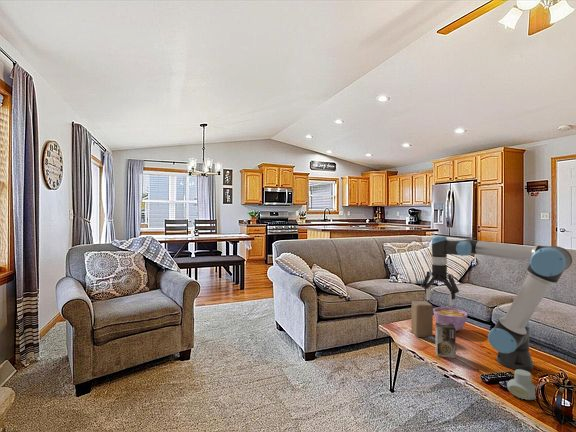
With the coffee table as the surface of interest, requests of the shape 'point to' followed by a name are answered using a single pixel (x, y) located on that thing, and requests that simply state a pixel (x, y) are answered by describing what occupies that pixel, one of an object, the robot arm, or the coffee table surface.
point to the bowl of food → (450, 316)
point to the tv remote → (430, 339)
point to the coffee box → (445, 340)
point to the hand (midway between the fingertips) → (439, 302)
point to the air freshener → (522, 385)
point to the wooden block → (422, 319)
